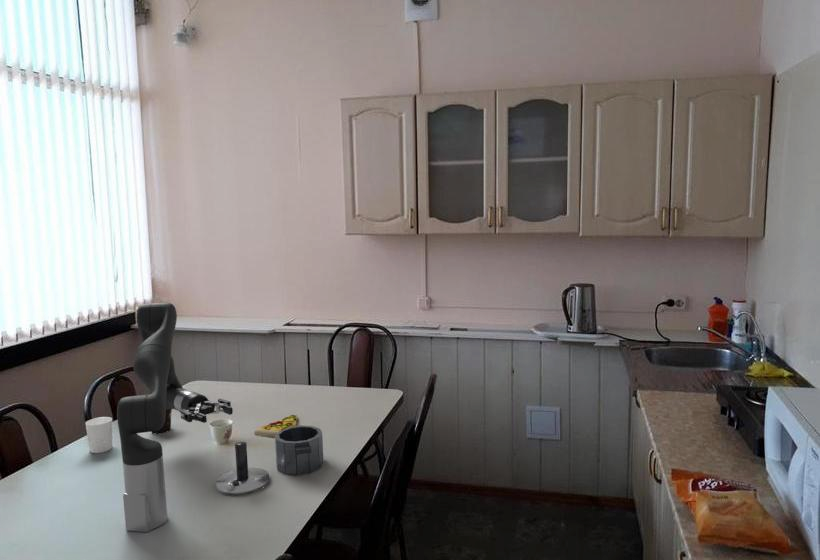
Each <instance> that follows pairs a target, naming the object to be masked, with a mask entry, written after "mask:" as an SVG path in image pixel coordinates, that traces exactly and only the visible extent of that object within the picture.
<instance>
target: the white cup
mask: <svg viewBox="0 0 820 560" xmlns="http://www.w3.org/2000/svg"><path fill="white" fill-rule="evenodd" d="M85 428H86V436H87V441H88V446H89V451H90V453H91V454H100V453H104V452H105V453H106V452H108V451H110V450H112V449H113V418H112V417H111V416H100V417H94V418H92V419H91V418H90V419H89V420H87V421H85Z"/></svg>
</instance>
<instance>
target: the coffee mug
mask: <svg viewBox="0 0 820 560" xmlns="http://www.w3.org/2000/svg"><path fill="white" fill-rule="evenodd" d="M172 410H173V409H166V417H165V422H164V425H163V427H162V428H161V429H160V430H157V431H152V432H151V433H152V434H154V433H156V435H159V433H161V434H165V433H168V432H170V431H171V430H172V429H171V428H172ZM170 429H171V430H170ZM169 430H170V431H169ZM167 431H168V432H167Z"/></svg>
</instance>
